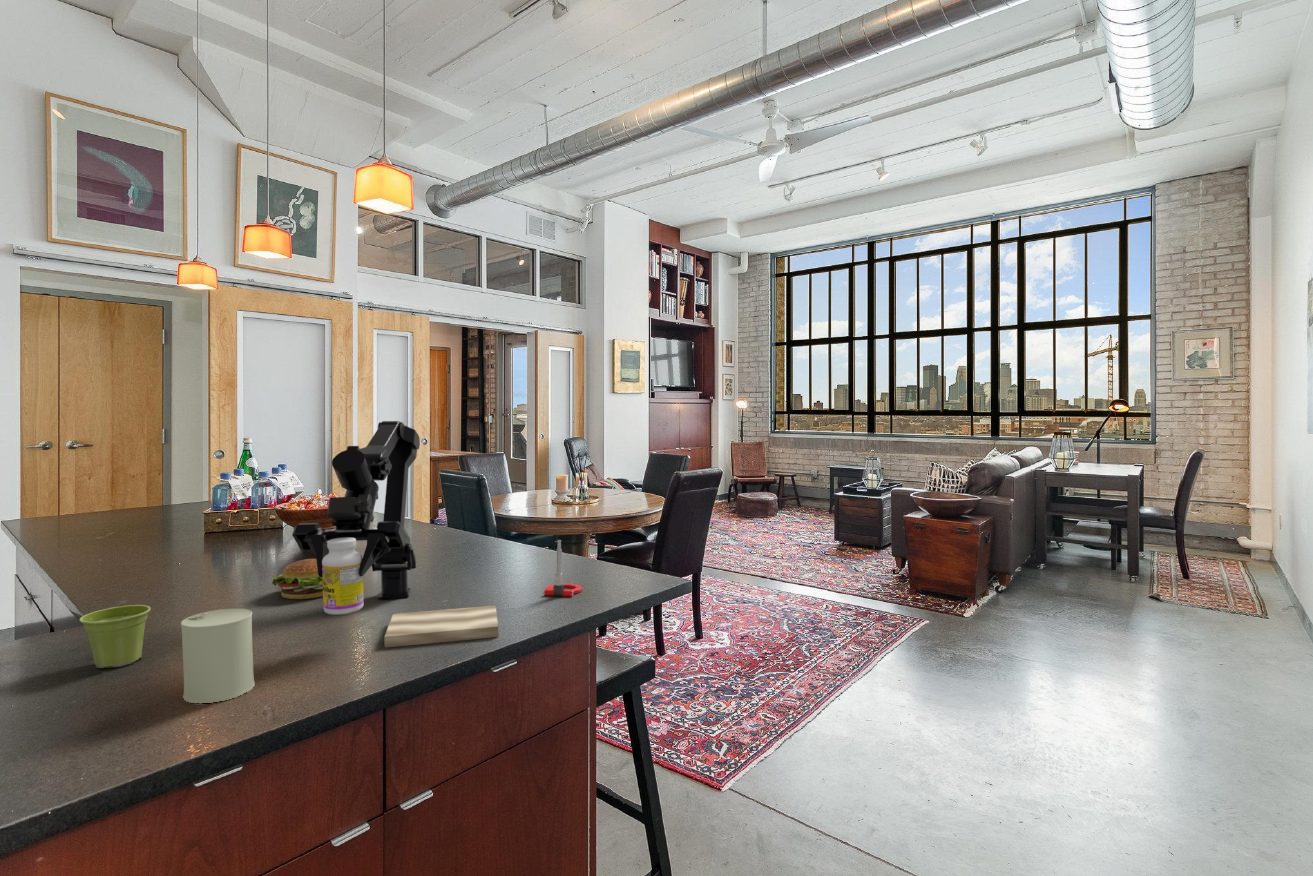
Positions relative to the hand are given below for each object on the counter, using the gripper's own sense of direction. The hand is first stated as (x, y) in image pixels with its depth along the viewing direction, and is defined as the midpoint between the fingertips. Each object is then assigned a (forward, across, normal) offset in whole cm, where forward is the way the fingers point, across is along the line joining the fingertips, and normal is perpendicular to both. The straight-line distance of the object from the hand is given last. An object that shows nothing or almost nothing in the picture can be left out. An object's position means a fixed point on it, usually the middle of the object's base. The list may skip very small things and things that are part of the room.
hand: (340, 575), depth 120 cm
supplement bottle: (+4, 0, +6) cm, 7 cm away
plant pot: (+11, -36, +8) cm, 38 cm away
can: (+21, -12, -2) cm, 25 cm away
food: (-18, -21, +38) cm, 47 cm away
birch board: (+4, +16, +15) cm, 22 cm away
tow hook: (-13, +39, +33) cm, 52 cm away
